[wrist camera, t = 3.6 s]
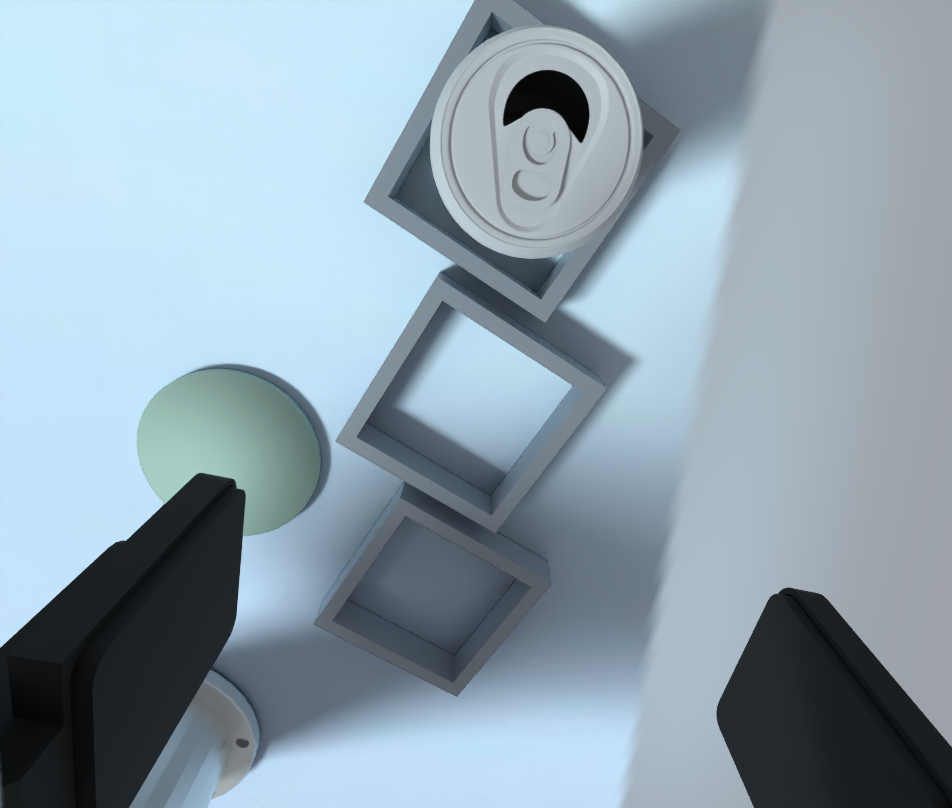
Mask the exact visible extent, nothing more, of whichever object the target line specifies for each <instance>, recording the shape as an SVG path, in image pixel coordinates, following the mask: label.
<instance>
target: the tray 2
mask: <svg viewBox="0 0 952 808" xmlns="http://www.w3.org/2000/svg"><path fill="white" fill-rule="evenodd" d="M442 301H444V302H445V303H447V304H448V305H450V306H451V307H453V308H454V309H456V310H458V311H459V312H461V313H462V314H464V315H465V316H467V317H468V318H470V319H471V320H473V321H474V322H476V323H478V324H479V325H481V326H482V327H484V328H485V329H487V330H488V331H490V332H491V333H493V334H494V335H496V336H498V337H499V338H501V339H502V340H504V341H505V342H507V343H508V344H510V345H511V346H513V347H515V348H516V349H518V350H519V351H521V352H522V353H524V354H525V355H527V356H528V357H530V358H531V359H533V360H535V361H536V362H538V363H539V364H541V365H542V366H544V367H545V368H547V369H548V370H550V371H551V372H553V373H555V374H556V375H558V376H559V377H561V378H562V379H564V380H565V381H567V382H568V383H570V384H572V385H573V387H572V388H571V389H570V391H569V392H568V393H567V395H566V396H565V397H564V399H563V400H562V401H561V403H560V404H559V405H558V407H557V408H556V409H555V411H554V412H553V413H552V415H551V416H550V417H549V419H548V420H547V421H546V423H545V424H544V425H543V427H542V428H541V429H540V431H539V432H538V433H537V435H536V436H535V437H534V439H533V440H532V441H531V443H530V444H529V445H528V447H527V448H526V449H525V451H524V452H523V453H522V455H521V456H520V457H519V459H518V460H517V462H516V463H515V464H514V466H513V467H512V468H511V470H510V471H509V472H508V474H507V475H506V476H505V478H504V479H503V480H502V482H501V483H500V484H499V486H498V487H497V488H496V490H495V491H494V492H493V494H492V495H491V496H490V495H488V494H486V493H485V492H483V491H481V490H480V489H478V488H476V487H475V486H473V485H471V484H469V483H468V482H466V481H464V480H463V479H461V478H459V477H458V476H456V475H454V474H452V473H451V472H449V471H447V470H446V469H444V468H442V467H441V466H439V465H437V464H435V463H434V462H432V461H430V460H429V459H427V458H425V457H424V456H422V455H420V454H418V453H417V452H415V451H413V450H412V449H410V448H408V447H407V446H405V445H403V444H401V443H400V442H398V441H396V440H395V439H393V438H391V437H390V436H388V435H386V434H384V433H383V432H381V431H379V430H378V429H376V428H374V427H373V426H371V425H369V424H367V423H366V421H367V419H368V418H369V416H370V414H371V413H372V411H373V410H374V408H375V406H376V405H377V403H378V402H379V400H380V399H381V397H382V395H383V394H384V392H385V391H386V389H387V387H388V386H389V384H390V383H391V381H392V380H393V378H394V376H395V375H396V373H397V372H398V370H399V368H400V367H401V365H402V364H403V362H404V361H405V359H406V357H407V356H408V354H409V353H410V351H411V349H412V348H413V346H414V345H415V343H416V342H417V340H418V338H419V337H420V335H421V334H422V332H423V330H424V329H425V327H426V326H427V324H428V322H429V321H430V319H431V318H432V316H433V315H434V313H435V311H436V310H437V308H438V307H439V305H440V303H441V302H442ZM606 389H607V388H606V386H605V385H604V384H603V382H602V381H601V379H600V378H599V376H597V375H596V374H594V373H593V372H591V371H590V370H588V369H587V368H585V367H584V366H582V365H581V364H579V363H578V362H576V361H575V360H573V359H572V358H570V357H569V356H567V355H566V354H564V353H563V352H561V351H560V350H558V349H557V348H555V347H554V346H552V345H550V344H549V343H547V342H546V341H544V340H543V339H541V338H540V337H538V336H537V335H535V334H534V333H532V332H531V331H529V330H528V329H526V328H525V327H523V326H522V325H520V324H519V323H517V322H516V321H514V320H513V319H511V318H510V317H508V316H507V315H505V314H503V313H502V312H500V311H499V310H497V309H496V308H494V307H493V306H491V305H490V304H488V303H487V302H485V301H484V300H482V299H481V298H479V297H478V296H476V295H475V294H473V293H472V292H470V291H469V290H467V289H466V288H464V287H463V286H461V285H459V284H458V283H456V282H455V281H453V280H452V279H450V278H449V277H447V276H446V275H444V274H443V273H441V272H440V273H439V274H438V276H437V277H436V279H435V281H434V282H433V284H432V286H431V287H430V289H429V290H428V292H427V294H426V295H425V297H424V298H423V300H422V302H421V303H420V305H419V307H418V308H417V310H416V311H415V313H414V315H413V316H412V318H411V319H410V321H409V323H408V324H407V326H406V328H405V329H404V331H403V332H402V334H401V336H400V337H399V339H398V340H397V342H396V344H395V345H394V347H393V349H392V350H391V352H390V353H389V355H388V357H387V358H386V360H385V361H384V363H383V365H382V366H381V368H380V370H379V371H378V373H377V374H376V376H375V378H374V379H373V381H372V382H371V384H370V386H369V387H368V389H367V391H366V392H365V394H364V395H363V397H362V399H361V400H360V402H359V403H358V405H357V407H356V408H355V410H354V412H353V413H352V415H351V416H350V418H349V420H348V421H347V423H346V425H345V426H344V428H343V429H342V431H341V433H340V434H339V436H338V437H337V439H336V442H337V443H339V444H341V445H343V446H344V447H346V448H348V449H350V450H351V451H353V452H355V453H356V454H358V455H360V456H362V457H363V458H365V459H367V460H369V461H370V462H372V463H374V464H376V465H377V466H379V467H381V468H383V469H384V470H386V471H388V472H390V473H391V474H393V475H395V476H397V477H398V478H400V479H402V480H403V481H405V482H407V483H409V484H410V485H412V486H414V487H416V488H417V489H419V490H421V491H423V492H424V493H426V494H428V495H430V496H431V497H433V498H435V499H437V500H438V501H440V502H442V503H443V504H445V505H447V506H449V507H450V508H452V509H454V510H456V511H457V512H459V513H461V514H463V515H464V516H466V517H468V518H470V519H471V520H473V521H475V522H477V523H478V524H480V525H482V526H483V527H485V528H487V529H489V530H490V531H492V532H494V533H496V532H497V531H498V529H499V528H500V527H501V526H502V524H503V523H504V522H505V520H506V519H507V518H508V516H509V515H510V514H511V513H512V511H513V510H514V509H515V507H516V506H517V505H518V503H519V502H520V501H521V500H522V498H523V497H524V496H525V494H526V493H527V492H528V490H529V489H530V488H531V487H532V485H533V484H534V483H535V481H536V480H537V479H538V477H539V476H540V475H541V474H542V472H543V471H544V470H545V468H546V467H547V466H548V464H549V463H550V462H551V461H552V459H553V458H554V457H555V455H556V454H557V453H558V451H559V450H560V449H561V448H562V446H563V445H564V444H565V442H566V441H567V440H568V438H569V437H570V436H571V435H572V433H573V432H574V431H575V429H576V428H577V427H578V425H579V424H580V423H581V422H582V420H583V419H584V418H585V416H586V415H587V414H588V412H589V411H590V410H591V409H592V407H593V406H594V405H595V403H596V402H597V401H598V399H599V398H600V397H601V396H602V394H603V393H604V392H605V390H606Z"/></svg>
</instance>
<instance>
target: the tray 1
mask: <svg viewBox="0 0 952 808" xmlns="http://www.w3.org/2000/svg"><path fill="white" fill-rule="evenodd" d="M527 25H545V24H543V23H542V22H541V21H540V20H538V19H537V18H536V17H534V16H533V15H532V14H531V13H529V12H528V11H527V10H525V9H524V8H523V7H522V6H520V5H519V4H518V3H517V2H515V1H514V0H475V1H474V3H473V4H472V6H471V8H470V10H469V12H468V13H467V15H466V17H465V19H464V21H463V22H462V24H461V26H460V28H459V30H458V32H457V33H456V35H455V37H454V39H453V41H452V42H451V44H450V46H449V48H448V50H447V51H446V53H445V55H444V57H443V59H442V61H441V62H440V64H439V66H438V68H437V70H436V71H435V73H434V75H433V77H432V79H431V81H430V82H429V84H428V86H427V88H426V90H425V91H424V93H423V95H422V97H421V99H420V100H419V102H418V104H417V106H416V108H415V110H414V111H413V113H412V115H411V117H410V119H409V120H408V122H407V124H406V126H405V128H404V129H403V131H402V133H401V135H400V137H399V139H398V140H397V142H396V144H395V146H394V148H393V149H392V151H391V153H390V155H389V157H388V158H387V160H386V162H385V164H384V166H383V168H382V169H381V171H380V173H379V175H378V177H377V178H376V180H375V182H374V184H373V186H372V188H371V189H370V191H369V193H368V195H367V197H366V198H365V200H364V203H366V204H367V205H369V206H370V207H372V208H373V209H375V210H376V211H378V212H379V213H381V214H382V215H384V216H385V217H387V218H388V219H390V220H391V221H393V222H394V223H396V224H397V225H399V226H400V227H402V228H403V229H405V230H406V231H408V232H409V233H411V234H412V235H414V236H415V237H417V238H418V239H420V240H421V241H423V242H424V243H426V244H427V245H429V246H430V247H432V248H433V249H435V250H436V251H438V252H439V253H441V254H442V255H444V256H445V257H447V258H448V259H450V260H451V261H453V262H454V263H456V264H457V265H459V266H460V267H462V268H463V269H465V270H466V271H468V272H469V273H471V274H472V275H474V276H475V277H477V278H478V279H480V280H481V281H483V282H484V283H486V284H487V285H489V286H490V287H492V288H493V289H495V290H496V291H498V292H499V293H501V294H502V295H504V296H505V297H507V298H508V299H510V300H511V301H513V302H514V303H516V304H517V305H519V306H520V307H522V308H523V309H525V310H526V311H528V312H529V313H531V314H532V315H534V316H535V317H537V318H538V319H540V320H541V321H543V322H544V323H545V322H546V321H547V320H548V318H549V317H550V315H551V314H552V312H553V311H554V310H555V308H556V307H557V305H558V304H559V302H560V301H561V300H562V298H563V297H564V295H565V294H566V292H567V291H568V290H569V288H570V287H571V285H572V284H573V282H574V281H575V280H576V278H577V277H578V275H579V274H580V273H581V271H582V270H583V268H584V267H585V265H586V264H587V263H588V261H589V260H590V258H591V257H592V255H593V254H594V253H595V251H596V250H597V248H598V247H599V245H600V244H601V243H602V241H603V240H604V238H605V237H606V235H607V234H608V233H609V231H610V230H611V228H612V227H613V225H614V224H615V223H616V221H617V220H618V218H619V217H620V215H621V214H622V213H623V211H624V210H625V208H626V207H627V206H628V204H629V203H630V201H631V200H632V198H633V197H634V196H635V194H636V193H637V191H638V190H639V188H640V187H641V186H642V184H643V183H644V181H645V180H646V178H647V177H648V176H649V174H650V173H651V171H652V170H653V168H654V167H655V166H656V164H657V163H658V161H659V160H660V158H661V157H662V156H663V154H664V153H665V151H666V150H667V148H668V147H669V146H670V144H671V143H672V141H673V140H674V139H675V137H676V136H677V134H678V133H679V131H680V130H679V129H678V128H677V127H675V126H674V125H673V124H672V123H670V122H669V121H668V120H666V119H665V118H664V117H663V116H661V115H660V114H659V113H657V112H656V111H655V110H654V109H652V108H651V107H650V106H649V105H647V104H646V103H645V102H643V101H642V100H641V99H640V98H638V97H637V99H638V102H639V106H640V109H641V114H642V122H643V154H642V160H641V165H640V169H639V173H638V176H637V179H636V182H635V184H634V187H633V189H632V192H631V193H630V195H629V197H628V199H627V201H626V203H625V204H624V206H623V208H622V209H621V211H620V212H619V213H618V215H617V216H616V217H615V218H614V220H613V221H612V222H611V223H610V224H609V225H608V226H607V227H606V228H605V229H604V230H603V231H602V232H601V233H599V234H598V235H597V236H596V237H594V238H593V239H592V240H590V241H589V242H587V243H585V244H584V245H582V246H580V247H578V248H576V249H574V250H572V251H569V252H567V253H564V254H563V255H562V257H561V258H560V260H559V261H558V263H557V264H556V266H555V267H554V269H553V270H552V272H551V273H550V274H549V276H548V277H547V279H546V280H545V282H544V283H543V285H542V286H541V288H540V289H539V291H538V292H537V293H536V292H534V291H533V290H532V289H530V288H529V287H527V286H526V285H524V284H523V283H521V282H520V281H518V280H517V279H515V278H514V277H512V276H511V275H509V274H508V273H506V272H505V271H503V270H502V269H500V268H499V267H497V266H496V265H495V264H493V263H492V262H490V261H489V260H487V259H486V258H484V257H483V256H481V255H480V254H478V253H477V252H475V251H474V250H472V249H471V248H469V247H468V246H466V245H465V244H463V243H462V242H460V241H459V240H457V239H456V238H455V237H453V236H452V235H450V234H449V233H447V232H446V231H444V230H443V229H441V228H440V227H438V226H437V225H435V224H434V223H432V222H431V221H429V220H428V219H426V218H425V217H423V216H422V215H420V214H419V213H418V212H416V211H415V210H413V209H412V208H410V207H409V206H407V205H406V204H404V203H403V202H401V201H400V200H398V199H397V198H395V196H396V194H397V193H398V191H399V189H400V187H401V186H402V184H403V182H404V180H405V179H406V177H407V175H408V173H409V172H410V170H411V168H412V166H413V165H414V163H415V161H416V159H417V157H418V156H419V154H420V152H421V150H422V149H423V147H424V145H425V143H426V142H427V140H428V138H429V136H430V133H431V124H432V120H433V116H434V111H435V108H436V105H437V102H438V99H439V97H440V95H441V92H442V90H443V88H444V86H445V84H446V82H447V81H448V79H449V78H450V76H451V74H452V73H453V72H454V70H455V69H456V68H457V66H458V65H459V64H460V63H461V62H462V61H463V60H464V58H465V57H466V56H467V55H468V54H469V53H471V52H472V51H473V50H474V49H475V48H477V47H478V46H479V45H480V44H482V43H483V41H484V39H485V38H486V36H487V34H488V32H489V31H490V29H491V28H492V29H493V30H494V31H496V32H497V33H498V34H500V33H502V32H504V31H507V30H510V29H514V28H517V27H521V26H527Z"/></svg>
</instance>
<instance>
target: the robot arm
mask: <svg viewBox="0 0 952 808" xmlns="http://www.w3.org/2000/svg"><path fill="white" fill-rule="evenodd" d="M245 501H246V494H245V491H244V490H242V489H237V485H236V481H235V480H234V479H231V478H226V477H221V476H216V475H211V474H206V473H198V474H196V475H195V476H194V477H193V478H192V479H191V480H190V481H188V482H187V483H186V484H185V485H184V486H183V487H182V488H181V489H180V490H179V491H178V492H177V493H176V494H175V495H174V496H173V497H172V498H171V499H170V500H168V501H167V502H166V503H165V504H164V505H163V506H162V507H161V508H160V509H159V510H158V511H157V512H156V513H155V514H154V515H153V516H152V517H151V518H150V519H149V520H147V521H146V522H145V523H144V524H143V525H142V526H141V527H140V528H139V529H138V530H137V531H136V532H135V533H134V534H133V535H132V536H131V537H130V538H129V539H127V540H126V541H119V542H116V543H115V544H113V545H112V546H110V547H109V548H108V549H107V550H106V551H105V552H103V553H102V554H101V555H100V556H99V557H98V558H97V559H96V560H95V561H94V562H93V563H92V564H90V565H89V566H88V567H87V568H86V569H85V570H84V571H83V572H82V573H81V574H80V575H79V576H78V577H76V578H75V579H74V580H73V581H72V582H71V583H70V584H69V585H68V586H67V587H66V588H65V589H63V590H62V591H61V592H60V593H59V594H58V595H57V596H56V597H55V598H54V599H53V600H52V601H51V602H49V603H48V604H47V605H46V606H45V607H44V608H43V609H42V610H41V611H40V612H39V613H38V614H36V615H35V616H34V617H33V618H32V619H31V620H30V621H29V622H28V623H27V624H26V625H25V626H24V627H22V628H21V629H20V630H19V631H18V632H17V633H16V634H15V635H14V636H13V637H12V638H11V639H9V640H8V641H7V642H6V643H5V644H4V645H3V646H2V647H1V648H0V808H207V807H208V805H209V803H210V800H211V799H214V798H216V797H218V796H221V795H223V794H225V793H227V792H228V791H230V790H231V789H233V788H234V787H236V786H237V785H238V784H239V783H240V782H241V781H242V780H243V779H244V777H245V776H246V775H247V773H248V771H249V770H250V768H251V766H252V764H253V761H254V758H255V756H256V753H257V750H258V747H259V737H260V734H259V728H258V722H257V719H256V717H255V714H254V712H253V710H252V708H251V706H250V705H249V703H248V702H247V700H246V699H245V697H244V696H243V695H242V694H241V693H240V692H239V691H238V690H237V689H236V688H235V687H234V686H233V685H232V684H231V683H230V682H229V681H227V680H226V679H225V678H223V677H222V676H220V675H219V674H218V673H216V672H214V671H212V670H210V669H211V668H212V666H213V664H214V663H215V661H216V659H217V657H218V656H219V654H220V652H221V651H222V649H223V647H224V645H225V644H226V642H227V640H228V639H229V637H230V635H231V632H232V630H233V627H234V624H235V620H236V613H237V601H238V589H239V576H240V564H241V551H242V539H243V526H244V514H245ZM717 722H718V725H719V728H720V730H721V733H722V735H723V737H724V740H725V742H726V744H727V747H728V749H729V751H730V753H731V756H732V758H733V760H734V763H735V765H736V767H737V770H738V772H739V774H740V777H741V779H742V781H743V783H744V786H745V788H746V790H747V793H748V795H749V797H750V799H751V802H752V804H753V806H754V808H952V747H951V746H950V745H949V744H948V742H947V741H946V740H945V739H944V738H943V736H942V735H941V734H940V733H939V732H938V731H937V729H936V728H935V727H934V726H933V724H932V723H931V722H930V721H929V720H928V719H927V717H926V716H925V715H924V714H923V713H922V711H921V710H920V709H919V708H918V707H917V705H916V704H915V703H914V702H913V701H912V700H911V698H910V697H909V696H908V695H907V694H906V692H905V691H904V690H903V689H902V688H901V686H900V685H899V684H898V683H897V682H896V681H895V679H894V678H893V677H892V676H891V675H890V673H889V672H888V671H887V670H886V669H885V667H884V666H883V665H882V664H881V663H880V662H879V660H878V659H877V658H876V657H875V656H874V654H873V653H872V652H871V651H870V650H869V648H868V647H867V646H866V645H865V644H864V643H863V641H862V640H861V639H860V638H859V637H858V635H857V634H856V633H855V632H854V631H853V629H852V628H851V627H850V626H849V625H848V624H847V622H846V621H845V620H844V619H843V618H842V616H841V615H840V614H839V613H838V612H837V610H836V609H835V608H834V607H833V606H832V605H831V603H830V602H829V601H828V600H827V599H826V598H825V597H824V596H823V595H821V594H818V593H814V592H808V591H803V590H798V589H793V588H785V589H783V590H781V591H780V592H779V593H778V594H774V595H772V596H771V597H770V599H769V600H768V602H767V604H766V606H765V608H764V610H763V612H762V614H761V616H760V618H759V621H758V622H757V625H756V627H755V629H754V631H753V633H752V635H751V637H750V639H749V641H748V643H747V645H746V647H745V649H744V651H743V654H742V655H741V658H740V659H739V662H738V664H737V666H736V668H735V670H734V672H733V674H732V676H731V678H730V680H729V682H728V684H727V686H726V688H725V690H724V692H723V694H722V697H721V698H720V701H719V703H718V706H717Z"/></svg>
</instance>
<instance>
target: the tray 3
mask: <svg viewBox="0 0 952 808" xmlns="http://www.w3.org/2000/svg"><path fill="white" fill-rule="evenodd" d="M405 516H406V517H408V518H410V519H411V520H413V521H415V522H417V523H418V524H420V525H422V526H424V527H426V528H427V529H429V530H431V531H433V532H434V533H436V534H438V535H440V536H442V537H443V538H445V539H447V540H449V541H451V542H452V543H454V544H456V545H458V546H459V547H461V548H463V549H465V550H467V551H468V552H470V553H472V554H474V555H475V556H477V557H479V558H481V559H483V560H484V561H486V562H488V563H490V564H491V565H493V566H495V567H497V568H499V569H500V570H502V571H504V572H506V573H507V574H509V575H511V576H513V577H515V578H516V580H515V582H514V583H513V584H512V585H511V587H510V588H509V589H508V590H507V591H506V593H505V594H504V595H503V596H502V598H501V599H500V600H499V601H498V603H497V604H496V605H495V606H494V608H493V609H492V610H491V611H490V612H489V614H488V615H487V616H486V617H485V619H484V620H483V621H482V622H481V624H480V625H479V626H478V627H477V629H476V630H475V631H474V632H473V633H472V635H471V636H470V637H469V638H468V640H467V641H466V642H465V643H464V645H463V646H462V647H461V648H460V650H459V651H458V652H457V653H456V654H455V656H454V655H452V654H450V653H448V652H447V651H445V650H443V649H441V648H439V647H437V646H435V645H433V644H431V643H429V642H427V641H425V640H423V639H422V638H420V637H418V636H416V635H414V634H412V633H410V632H408V631H406V630H404V629H402V628H400V627H399V626H397V625H395V624H393V623H391V622H389V621H387V620H385V619H383V618H381V617H379V616H377V615H375V614H374V613H372V612H370V611H368V610H366V609H364V608H362V607H360V606H358V605H356V604H354V603H352V602H351V601H349V600H347V599H348V597H349V596H350V594H351V593H352V592H353V590H354V589H355V587H356V586H357V584H358V583H359V582H360V580H361V579H362V577H363V576H364V574H365V573H366V572H367V570H368V569H369V567H370V566H371V564H372V563H373V561H374V560H375V559H376V557H377V556H378V554H379V553H380V551H381V550H382V549H383V547H384V546H385V544H386V543H387V541H388V540H389V539H390V537H391V536H392V534H393V533H394V531H395V530H396V529H397V527H398V526H399V524H400V523H401V521H402V520H403V519H404V517H405ZM550 585H551V579H550V574H549V568H548V563H547V561H546V560H545V559H543V558H541V557H540V556H538V555H536V554H534V553H533V552H531V551H529V550H527V549H526V548H524V547H522V546H520V545H519V544H517V543H515V542H513V541H512V540H510V539H508V538H507V537H505V536H503V535H501V534H500V533H498V532H496V533H494V532H492V531H490V530H489V529H487V528H485V527H483V526H482V525H480V524H478V523H477V522H475V521H473V520H471V519H470V518H468V517H466V516H464V515H463V514H461V513H459V512H457V511H456V510H454V509H452V508H450V507H449V506H447V505H445V504H443V503H442V502H440V501H438V500H437V499H435V498H433V497H431V496H430V495H428V494H426V493H424V492H423V491H421V490H419V489H417V488H416V487H414V486H412V485H410V484H409V483H407V482H405V481H404V482H403V483H402V485H401V486H400V488H399V489H398V491H397V492H396V494H395V495H394V496H393V498H392V499H391V501H390V502H389V504H388V505H387V507H386V508H385V510H384V511H383V513H382V514H381V516H380V517H379V518H378V520H377V521H376V523H375V524H374V526H373V527H372V529H371V530H370V532H369V533H368V535H367V536H366V538H365V539H364V540H363V542H362V543H361V545H360V546H359V548H358V549H357V551H356V552H355V554H354V555H353V557H352V558H351V560H350V561H349V562H348V564H347V565H346V567H345V568H344V570H343V571H342V573H341V574H340V576H339V577H338V579H337V580H336V582H335V583H334V585H333V586H332V587H331V589H330V590H329V592H328V593H327V595H326V596H325V598H324V599H323V602H322V604H321V607H320V609H319V612H318V614H317V617H316V619H315V622H314V625H316V626H318V627H320V628H322V629H324V630H326V631H328V632H330V633H332V634H334V635H336V636H338V637H340V638H342V639H344V640H346V641H348V642H350V643H352V644H354V645H356V646H358V647H360V648H362V649H364V650H366V651H368V652H370V653H372V654H374V655H375V656H377V657H379V658H381V659H383V660H385V661H387V662H389V663H391V664H393V665H395V666H397V667H399V668H401V669H403V670H405V671H407V672H409V673H411V674H413V675H415V676H417V677H419V678H421V679H423V680H425V681H427V682H429V683H431V684H433V685H435V686H437V687H439V688H441V689H443V690H445V691H447V692H449V693H451V694H453V695H455V696H456V697H457V696H458V695H459V694H460V692H461V691H462V690H463V689H464V688H465V687H466V685H467V684H468V683H469V682H470V681H471V679H472V678H473V677H474V676H475V675H476V673H477V672H478V671H479V670H480V669H481V667H482V666H483V665H484V664H485V663H486V661H487V660H488V659H489V658H490V657H491V655H492V654H493V653H494V652H495V651H496V650H497V648H498V647H499V646H500V645H501V644H502V642H503V641H504V640H505V639H506V638H507V636H508V635H509V634H510V633H511V632H512V630H513V629H514V628H515V627H516V626H517V624H518V623H519V622H520V621H521V620H522V618H523V617H524V616H525V615H526V614H527V613H528V611H529V610H530V609H531V608H532V607H533V605H534V604H535V603H536V602H537V601H538V599H539V598H540V597H541V596H542V595H543V593H544V592H545V591H546V590H547V589H548V587H549V586H550Z"/></svg>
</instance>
